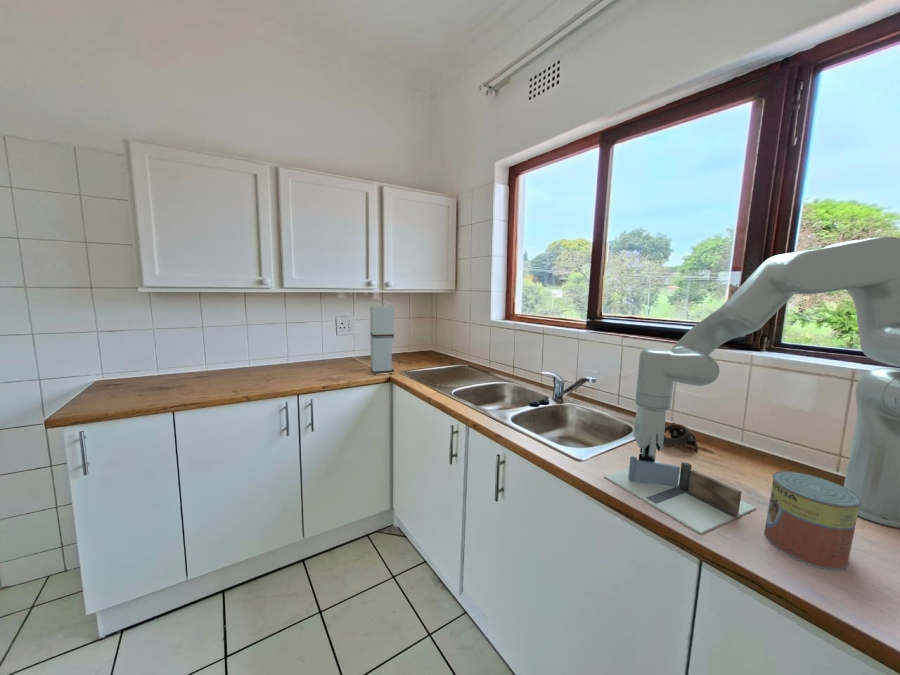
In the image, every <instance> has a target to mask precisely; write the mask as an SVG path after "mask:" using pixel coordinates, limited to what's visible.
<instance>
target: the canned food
mask: <svg viewBox="0 0 900 675" xmlns="http://www.w3.org/2000/svg"><path fill="white" fill-rule="evenodd" d="M772 478H773V479H772V485H771V492H770V497H769V503H768V509H767V516H766V521H765V522H766V523H765V528H764V530H763V535H764V537H765V539H766V540H767V541H768V542H769V544H771V545H772V546H773V547H774V548H775V549H777V550H779V551H780V552H782V553H783V554H785V555H786V556H788V557H791V558H792V559H795V560H796V561H799V562H801V563H804V564H806V565H809V566H812V567H815V568H819V569H822V570H827V571H828V570H830V571H843V570H846V569H847V568H848V567H849V563H850V562H849V560H850V555H851V550H852V545H853V540H854V535H855V529H856V525H857V519H858V517H859V516H858V511H859V506H860V504H861V499H860V498H859V497H858V496H857V495H856V494H855V493H853V492H852V491H850V490H849V489H847V488H845V487H844V485H843V486H842V485H840V484H838V483H836V482H834V481H831V480H828V479H825V478H822V477H819V476H815V475H812V474H808V473H803V472H797V471H789V470H785V471H777V472H774V473H773V474H772Z"/></svg>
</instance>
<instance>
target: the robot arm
mask: <svg viewBox="0 0 900 675" xmlns="http://www.w3.org/2000/svg"><path fill="white" fill-rule="evenodd" d="M844 290H845V291H846V292H847V293H848V295H850V297H851V299H852V301H853V302H854V308H855V313H856V314H855V315H856V322H857V330H858V339H859V345H860V348H861V352H862V353H863V354H864V356H866V358H869V359H871V360H872V361H876V362H878V363H879V362H880V363H882V364H886V365H890V366H895V367H879V368H874V369H872V370H870V371H869V370H868V371H867V372H865V373H863V374H862V375H861V377H860V378H859V379H858V381H857V383H856V387H855V402H856V403H855V404H856V417H855V418H856V420H855V425H854V433H853V436H852V441H851V446H850V452H849V458H848V461H847V462H848V463H847V468H846V474H845V478H844V483H843V487H845V488H847V489H849V490H850V491H852V492H853V493H855V494H856V495H857V496H858V497H859V498H860V499H861V504H860V506H859V511H858V516H857V517H860V518H862V519H865V520H868V521H871V522H874V523H877V524H881V525H883V526H888V527H893V528H898V529H900V368H899V367H900V237H896V236H889V235H888V236H878V237H870V238H863V239H855V240H849V241H842V242H837V243H833V244H830V245H827V246H824V247H823V248H817V249H816V248H815V249H811V250H810V249H809V250H803V251H796V252H795V251H794V252H787V253H781V254H776V255H773V256H771V257H769V258H767V259H766V260H764V261H763V262H762V263H761V264H760V265H759V266H758V267H757V268H756V269H755V270H754V271H753V272H752V273H751V275H749V276H748V277H747V279H746V280H745V281H743V283H742V284H741V285H740V286H739V288H737V289H736V291H734V293H733V294H732V295H731V296H730V297H729V298H728V299H727V300H726V301H725V302H724V303H723V304H722V305H721V306H720V307H719V308H717V309H716V310H714V311H713V312H712V313H710V314H709V315H708V316H706V317H705V318H704V319H702V320H701V321H699V322H698V323H696V324H695V325H694V326H693V327H692V328H690V329H689V330H688V331H687V332H686V333H685V334H684V335H682V337H681V338H680V339H679V340H678V341H677V343H676V344H674V345H673V347H672V348H671V349H670V350H669V349H665V348H654V347H653V348H649V347H648V348H643V349H642V350H641V352H640V354H639V359H638V370H637V379H636V380H637V381H636V390H635V400H634V404H635V405H636V406H637V407H636V408H637V409H636V414H635V420H634V426H633V437H634V441H635V442H636V445H637V446H638V448H639V454H638V460H643V461H649V462H655V461H656V454H657V451H658V452H661V451H662V450H663V447H664V445H663V441H664V435H665V433H664V431H665V426H666V412H667V411H670V410H671V406H672V398H673V388H674V382H675V383H680V384H685V385H689V386H697V387H702V386H707V385H710V384H712V383H714V382H716V380H717V379H718V378H719V375H720V372H721V371H720V366H719V363H718V362H717V361H716V360H715V359H714V358H713V357H711V356H710V355H711V353H712V352H714V351H715V350H716V349H718V348H719V347H721V345H723V344H725V343H727V342H728V341H731V340H733V339H736V338H740V337H743V336H746V335H747V336H748V335H749V334H752V333H754V332H757V331H759V330H760V329H761V328H763V326H764V325H765V324H766V323H768V321H769V320H770V319H771V318H772V317H773V316H774V315H775V314H776V313H777V312H778V311H779V310H780V309H781V308H782V307H783V306H784V305H785V304H786V303H787V302H788V301H790V299H791V298H792V297H793V296H794V295H814V294H823V293H824V294H825V293H832V292H838V291H844Z"/></svg>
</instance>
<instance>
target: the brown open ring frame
mask: <svg viewBox="0 0 900 675" xmlns="http://www.w3.org/2000/svg"><path fill="white" fill-rule="evenodd" d="M667 431H668V432H669V435H670V437H671V438H670V437H668V436H666V434H665V433H667ZM696 439H697V438H696V435H695V433H694V432H692V431H691V430H690V429H689V428H688V427H687V426H686V425H683V424H681V423H676V422H670V423H669V424H668V425H665V431H664V441H663V447H669V448H670V447H671V448H675V447H676V448H680V447H685V448H689V446H691V447H693V448H694V449H695V451H696V452H697V451H698V452H699V445H698V443H697V440H696Z"/></svg>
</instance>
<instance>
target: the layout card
mask: <svg viewBox="0 0 900 675" xmlns="http://www.w3.org/2000/svg"><path fill="white" fill-rule="evenodd" d="M655 462H656V463H661V462H660V461H658V460H655ZM628 476H629V468H626V469H622V470H619V471H615V472H612V473H609V474H606V475H603V478H604V479H606V480H608V481H609V482H611V483H613V484H615V485H616V486H618V487H620V488H621V489H624V491H626V492H628V493H630V494H631V495H634V496H635V497H636V498H638V499H640V500H642V501H643V502H645V503H646V504H648V505H650V506H652V507H653V508H655V509H657V510H658V511H660V512H662V513H664V514H665V515H667V516H669V517H670V518H672V519H673V518H674V520H675V521H677V522H679V523H680V522H681V523H680V524H682V525H684V526H686V527H687V528H688V529H691V531H694V532H696V533H697V534H699V535H703V534H705V533H707V532H709V531H712V530H714V529H717V528H718V527H720V526H722V525H725V524H726V523H729V522H731V521H734V520H736V519H737V518H739V517H742V516H744V515H746V514H748V513H751V512H752V511H754V510H756V509H757V508H756V506H754V505H751V504H749V503H748V502H745V501H743V500H740V506H739V513H738V514H737V515H735V514H733V513H731V512H729V511H727V510H725V509H723V508H721V507H719V506H717V505H715V504H713V503H711V502H709V501H707V500H705V499H703V498H701V497H699V496H697V495H695V494H693V493H691V492H689V490H688V491H683V490H681V489H679V480H678V488H677V487H671V486H664V485H658V484H652V483H645V482H639V481H631V480H629V479H628ZM679 479H680V472H679Z"/></svg>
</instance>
